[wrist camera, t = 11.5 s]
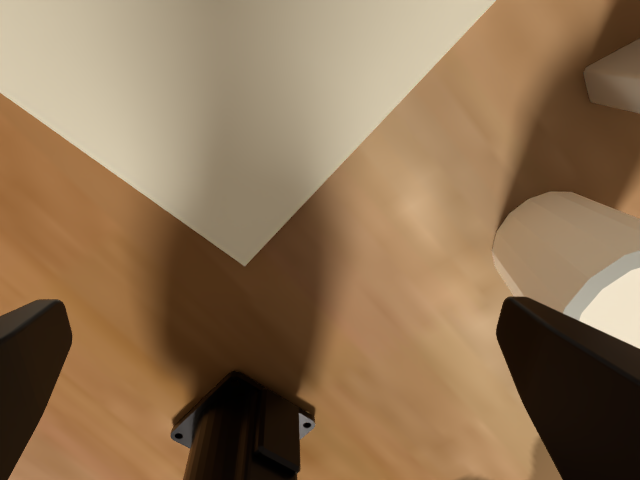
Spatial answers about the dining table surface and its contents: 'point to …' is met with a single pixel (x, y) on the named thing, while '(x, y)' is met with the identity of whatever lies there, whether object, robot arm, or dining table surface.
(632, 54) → the lighter
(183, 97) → the mat
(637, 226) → the white cylinder
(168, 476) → the dining table surface
